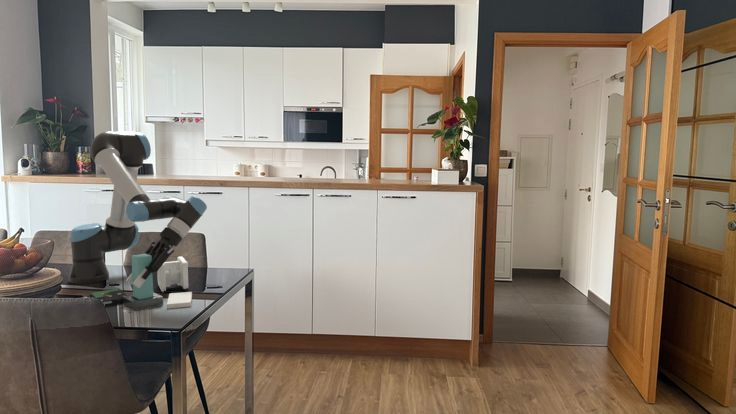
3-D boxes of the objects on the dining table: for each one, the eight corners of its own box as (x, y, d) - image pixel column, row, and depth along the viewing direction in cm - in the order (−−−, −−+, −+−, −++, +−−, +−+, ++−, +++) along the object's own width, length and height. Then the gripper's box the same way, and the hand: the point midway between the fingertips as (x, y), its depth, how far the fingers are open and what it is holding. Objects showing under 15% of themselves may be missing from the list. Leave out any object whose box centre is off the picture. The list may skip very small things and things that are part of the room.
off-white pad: (169, 297, 197) (169, 293, 196) (192, 295, 199) (191, 291, 199) (167, 308, 183) (166, 304, 183) (191, 306, 186) (190, 302, 185)
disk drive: (129, 304, 191) (119, 294, 202) (129, 296, 190) (119, 287, 202) (98, 309, 184) (89, 299, 196) (98, 301, 184) (89, 292, 195)
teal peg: (133, 296, 187) (131, 255, 185) (147, 293, 190) (145, 253, 188) (139, 299, 183) (137, 257, 181) (153, 296, 187) (151, 255, 185)
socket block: (123, 305, 187) (122, 296, 187) (150, 299, 194) (150, 291, 194) (135, 311, 180) (134, 302, 180) (163, 304, 188) (162, 296, 187)
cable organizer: (157, 285, 214) (155, 257, 213) (184, 281, 219) (182, 254, 218) (161, 294, 201) (160, 264, 200) (190, 290, 206) (188, 261, 204)
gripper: (193, 241, 190) (151, 295, 180) (170, 235, 202) (129, 285, 192) (179, 229, 185) (135, 283, 175) (156, 223, 197) (113, 273, 187)
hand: (132, 284), depth 183 cm, fingers closed on teal peg, 5 cm apart
